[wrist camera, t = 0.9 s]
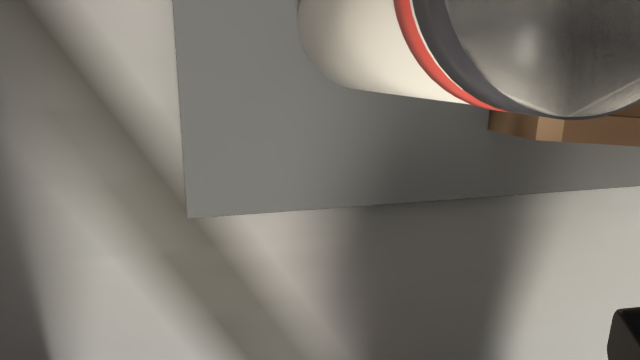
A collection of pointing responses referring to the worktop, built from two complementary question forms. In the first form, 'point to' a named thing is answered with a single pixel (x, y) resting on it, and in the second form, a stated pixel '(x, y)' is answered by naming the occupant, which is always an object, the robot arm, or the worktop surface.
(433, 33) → the white lens
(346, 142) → the rubber mat
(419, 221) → the worktop surface
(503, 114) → the wooden tray
